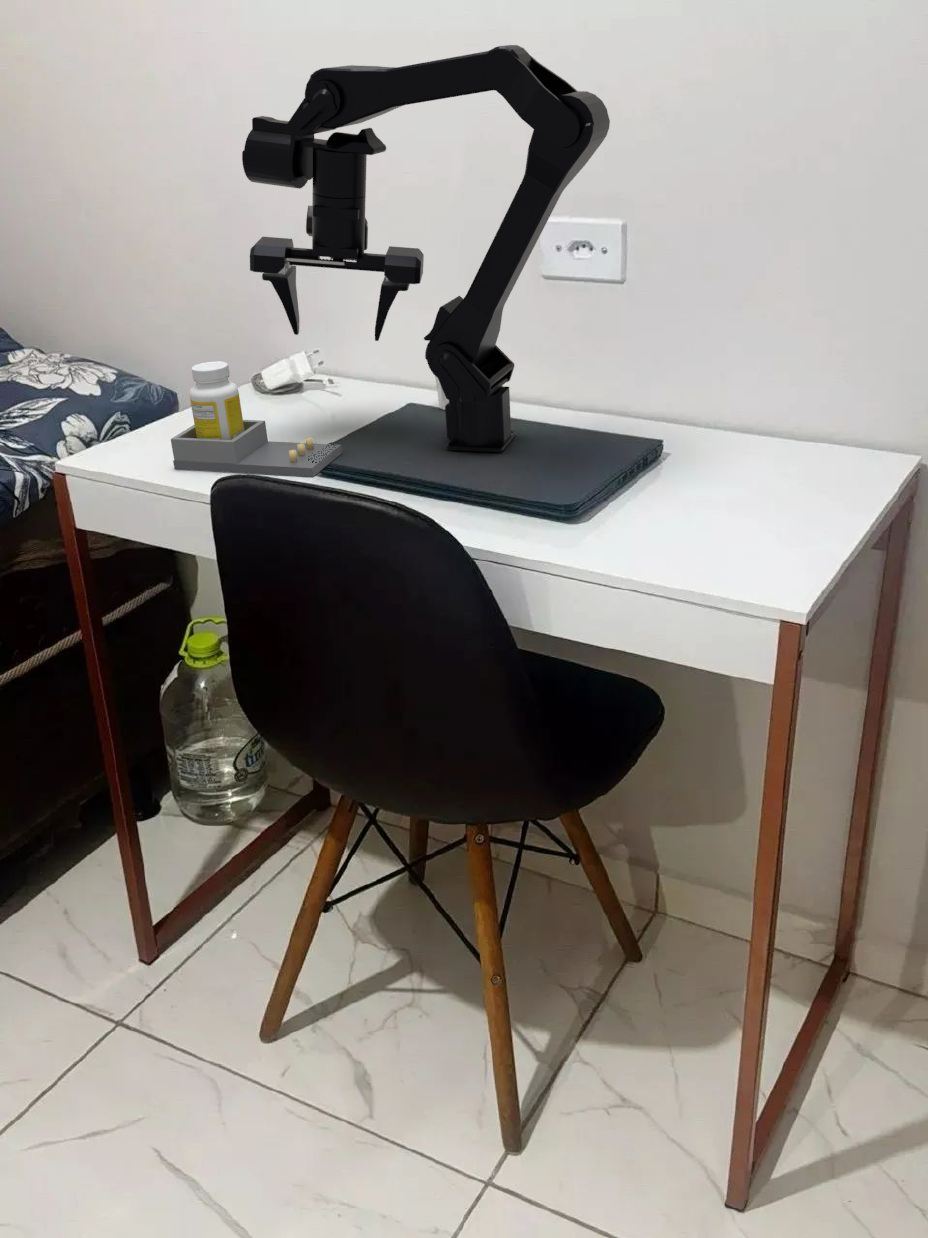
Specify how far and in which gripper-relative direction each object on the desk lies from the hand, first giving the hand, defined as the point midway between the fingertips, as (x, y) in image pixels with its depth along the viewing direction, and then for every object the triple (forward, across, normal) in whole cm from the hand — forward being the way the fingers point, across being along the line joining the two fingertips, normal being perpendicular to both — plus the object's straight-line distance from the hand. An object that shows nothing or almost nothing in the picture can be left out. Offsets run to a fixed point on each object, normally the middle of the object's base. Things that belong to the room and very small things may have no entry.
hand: (336, 336), depth 135 cm
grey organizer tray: (+12, +8, +9) cm, 17 cm away
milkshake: (+11, -14, -10) cm, 20 cm away
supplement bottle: (+12, +12, +7) cm, 19 cm away
